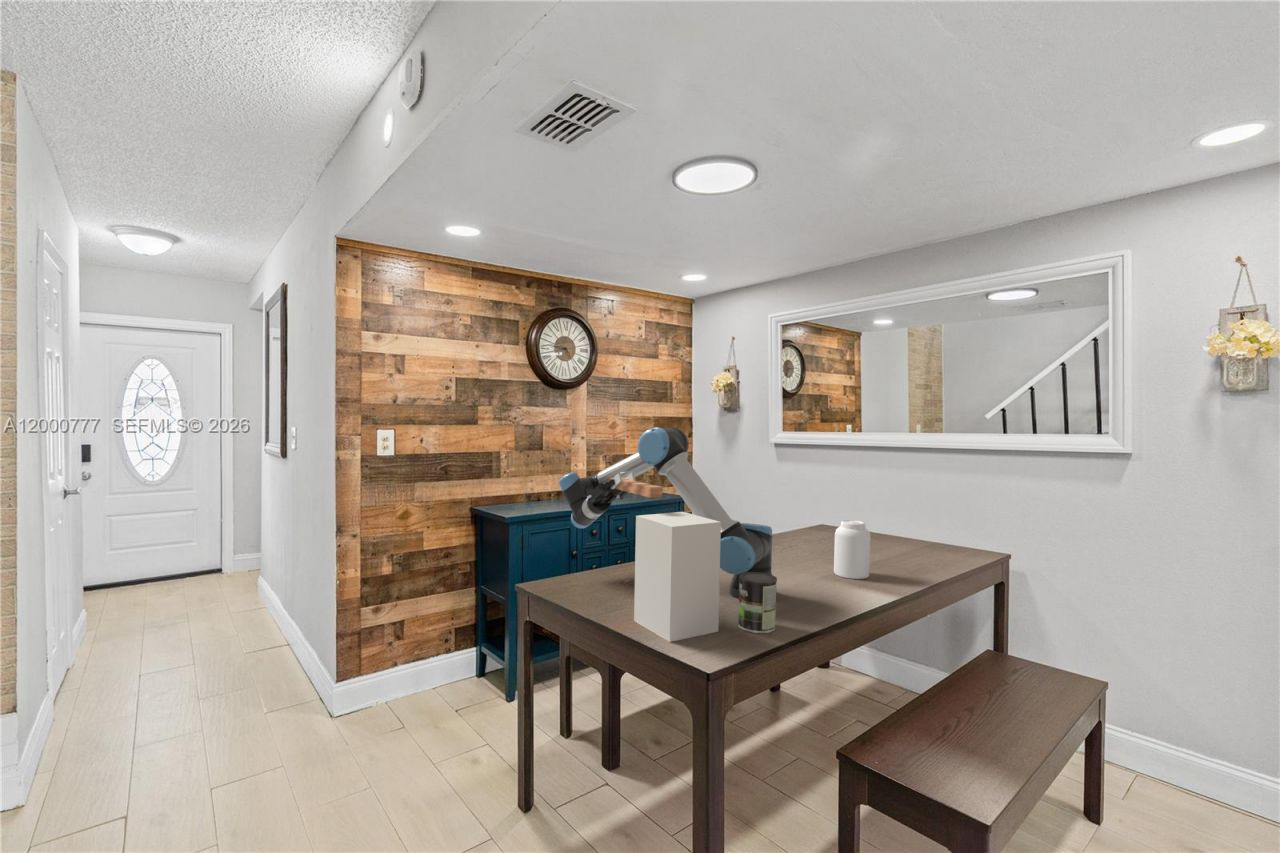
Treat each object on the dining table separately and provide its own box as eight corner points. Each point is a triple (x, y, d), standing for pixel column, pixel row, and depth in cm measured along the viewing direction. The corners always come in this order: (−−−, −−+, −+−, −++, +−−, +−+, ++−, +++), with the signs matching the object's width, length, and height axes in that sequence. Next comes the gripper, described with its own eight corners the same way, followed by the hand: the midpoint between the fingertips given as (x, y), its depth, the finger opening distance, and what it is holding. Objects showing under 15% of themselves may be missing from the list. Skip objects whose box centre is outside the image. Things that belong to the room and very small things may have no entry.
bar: (608, 486, 202) (608, 477, 201) (618, 486, 204) (619, 477, 204) (650, 497, 179) (651, 487, 179) (662, 497, 181) (662, 486, 181)
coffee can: (743, 634, 167) (744, 582, 167) (734, 620, 178) (735, 572, 177) (780, 633, 168) (782, 582, 168) (769, 620, 178) (770, 571, 178)
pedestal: (634, 620, 176) (636, 515, 175) (680, 612, 184) (682, 511, 183) (669, 642, 160) (672, 526, 159) (718, 631, 169) (720, 521, 168)
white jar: (874, 580, 223) (876, 525, 223) (839, 579, 223) (841, 524, 223) (862, 571, 236) (864, 518, 235) (829, 570, 236) (831, 518, 235)
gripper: (620, 512, 216) (652, 486, 198) (576, 516, 207) (605, 489, 189) (616, 492, 219) (647, 465, 201) (571, 495, 210) (600, 466, 192)
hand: (626, 476), depth 195 cm, fingers closed on bar, 4 cm apart
